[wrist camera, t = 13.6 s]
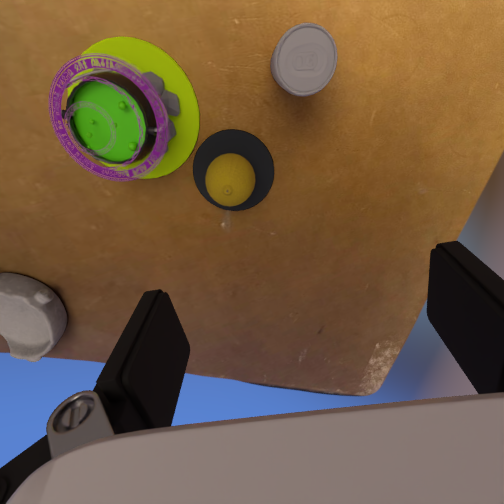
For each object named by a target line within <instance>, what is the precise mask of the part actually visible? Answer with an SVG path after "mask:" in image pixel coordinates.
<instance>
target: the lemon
mask: <svg viewBox="0 0 504 504" xmlns="http://www.w3.org/2000/svg"><path fill="white" fill-rule="evenodd" d="M205 183H206V188H207V191H208V193H209V195H210V196H211V197H212V199H213V200H214V201H216V202H217V203H219V204H221V205H224V206H236V205H239V204H241V203H243V202H244V201H246V200H247V199H248V197H249V196H250V195H251V193H252V191H253V189H254V186H255V173H254V170H253V167H252V166H251V164H250V163H249V161H247V160H246V159H245V158H244V157H242V156H240V155H238V154H234V153H227V154H223V155H220V156H219V157H217V158H215V159H214V160H213V161H212V162H211V164H210V165H209V167H208V169H207V172H206V176H205Z"/></svg>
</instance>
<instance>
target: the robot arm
mask: <svg viewBox="0 0 504 504" xmlns="http://www.w3.org/2000/svg"><path fill="white" fill-rule="evenodd" d="M427 316H428V319H429V321H430V322H431V324H432V325H433V327H434V328H435V330H436V331H437V333H438V334H439V336H440V337H441V339H442V340H443V342H444V343H445V345H446V346H447V348H448V349H449V351H450V352H451V354H452V355H453V357H454V358H455V360H456V361H457V363H458V364H459V366H460V367H461V369H462V370H463V371H464V373H465V374H466V376H467V377H468V379H469V380H470V382H471V383H472V385H473V386H474V388H475V389H476V391H477V392H478V394H477V395H465V396H453V397H443V398H432V399H422V400H413V401H402V402H393V403H382V404H372V405H362V406H354V407H353V406H352V407H343V408H333V409H324V410H314V411H305V412H295V413H286V414H276V415H267V416H259V417H249V418H241V419H231V420H222V421H213V422H204V423H195V424H186V425H178V426H171V424H172V420H173V416H174V413H175V409H176V405H177V401H178V397H179V393H180V389H181V386H182V382H183V378H184V374H185V370H186V366H187V362H188V359H189V355H190V345H189V342H188V340H187V338H186V335H185V333H184V330H183V328H182V326H181V323H180V321H179V319H178V316H177V314H176V312H175V309H174V307H173V304H172V302H171V300H170V297H169V295H168V293H166V292H164V293H163V291H162V290H160V289H159V290H152V291H146V292H145V293H144V294H143V296H142V297H141V299H140V301H139V303H138V305H137V307H136V309H135V310H134V312H133V314H132V316H131V318H130V320H129V322H128V323H127V325H126V327H125V329H124V331H123V333H122V335H121V336H120V338H119V340H118V342H117V344H116V346H115V348H114V349H113V351H112V353H111V355H110V357H109V359H108V361H107V362H106V364H105V366H104V368H103V370H102V372H101V374H100V375H99V377H98V379H97V381H96V383H97V384H96V386H95V388H94V390H93V391H90V390H89V391H82V392H78V393H76V394H74V395H72V396H70V397H68V398H67V399H66V400H64V401H63V402H62V403H61V404H60V405H59V406H58V407H57V408H56V409H55V410H54V411H53V413H52V414H51V416H50V417H49V420H48V422H47V427H46V431H47V435H45V436H44V437H43V438H41V439H40V440H38V441H37V442H36V443H34V444H33V445H32V446H30V447H29V448H27V449H26V450H25V451H23V452H22V453H21V454H20V455H18V456H17V457H15V458H14V459H12V460H11V461H10V462H8V463H7V464H6V465H4V466H3V467H1V468H0V504H504V280H503V279H502V278H501V277H499V276H498V275H497V274H496V273H495V272H494V271H492V270H491V269H490V268H489V267H488V266H487V265H485V264H484V263H483V262H482V261H481V260H480V259H478V258H477V257H476V256H475V255H474V254H473V253H471V252H470V251H469V250H468V249H467V248H466V247H464V246H463V245H462V244H461V243H460V242H458V241H452V242H445V243H439V244H437V245H436V248H435V249H432V250H431V253H430V268H429V284H428V299H427Z"/></svg>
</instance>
